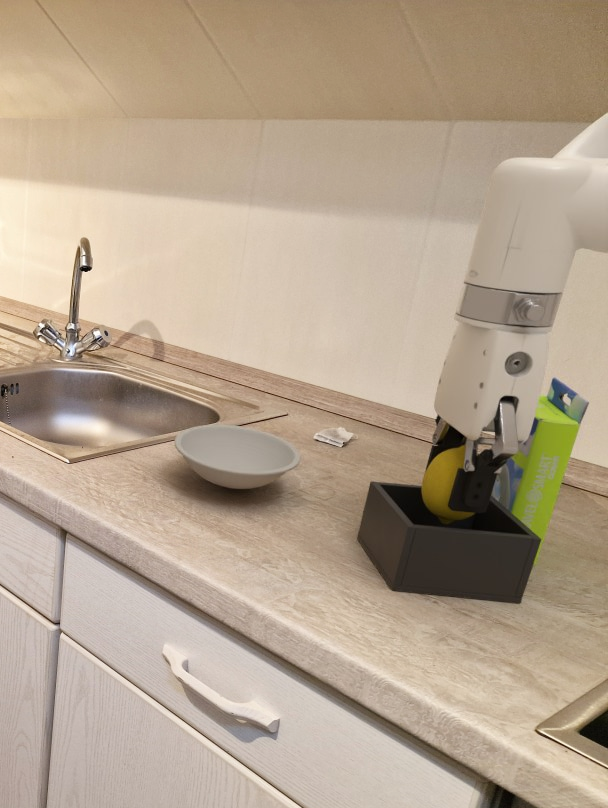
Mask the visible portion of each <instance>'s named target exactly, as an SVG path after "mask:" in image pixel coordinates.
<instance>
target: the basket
mask: <svg viewBox="0 0 608 808" xmlns="http://www.w3.org/2000/svg"><path fill="white" fill-rule="evenodd" d="M367 490H368V491H367V494H366V499H365V503H364V507H363V510H362V516H361V519H360V524H359V528H358V533H357V536H356V539H357V542H359V544H360V545H361V547H362V548H363V550H364V552H365V553H366V554H367V556H368V557H369V559H370V560H371V562H372V563H373V565H374V566H375V568H376V569H377V571H378V572H379V574H380V575H381V576H382V578H383V579H384V581H385V582H386V584H387V585H388V587H389V589H390V590H391V591H394V592H404V593H414V594H422V595H423V594H424V595H433V596H443V597H444V596H445V597H454V598H461V599H462V598H464V599H473V600H483V601H493V602H502V603H512V604H513V603H514V604H521V603H522V600H523V597H524V594H525V592H526V588H527V585H528V582H529V578H530V575H531V573H532V569H533V566H534V565H533V564H534V561H535V558H536V555H537V551H538V548H539V545H540V542H541V538H540V537H538V536H537V535H536V534H535V533H534V532H533V531H532V530H530V529H529V528H528V527H527V526H526V525H525V524H524V523H522V522H521V521H520V520H519V519H518V518H517V517H516V516H514V515H513V514H512V513H511V512H510V511H509V510H508V509H506V508H505V507H504V506H503V505H502V504H501V503H500V502H498V501H497V500H496V499H495V498H494V497H493V496H492V495H491V497H490V501H489V504H488V507H487V510H486V512H485V513H475V514H474V515H472V516H470V517H468V518H465V519H462V520H454V521H453V522H451V523H449V524H444V523H442V522H441V521H440V520H439V518H438V517H437V516H436V515H434V514H433V513H432V512H431V511H430V510H429V509H428V508H427V507H426V505H425V503H424V501H423V497H422V485H419V484H406V483H395V482H384V481H370V482H369V487H368V489H367Z"/></svg>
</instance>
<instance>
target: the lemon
mask: <svg viewBox="0 0 608 808" xmlns="http://www.w3.org/2000/svg"><path fill="white" fill-rule="evenodd" d="M465 449H466V445H463V446H461V447H459V448H452V449H449V450H446V451H444V452H442V453H440V454H439V455H437V456H436V457H435V458H434V459H433V461H432V462H431V463H430V465H429V467H428V468H427V470H426V469H425V470H426V472H425V471H424V474H425V475H424V474H423V477H422V482H421V486H422V497H423V501H424V503H425V505H426V507H427V508H428V509H429V510H430V511H431V512H432V513H433V514H434V515H436V516H437V517H438V518H439V520H440V521H441V522H442V523H444V524H449V523H451V522H453V521H454V520H462V519H465V518H468V517H470V516H472V515H474V514H475V513H471V512H460V511H452V510H451V509H450V508H449V507H448V502H449V499H450V495H451V492H452V488H453V484H454V481H455V477H456V474H457V470H458V468H463V469H464V458H465ZM479 454H480V453H478V452H477V456H478V455H479Z"/></svg>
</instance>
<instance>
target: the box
mask: <svg viewBox="0 0 608 808" xmlns="http://www.w3.org/2000/svg"><path fill="white" fill-rule="evenodd" d="M565 395H566V397H567V398H568V399H569V400H570V403H569V405H568V403H567V402H565V401H564V397H565ZM589 404H590V401H588V399H585V398H584V397H583V396H582V395H580V394H579V393H578V392H576V391H575V390H573V389H572V388H570V386H568V385H567V384H565V383H564V382H562V381H560V380H559V379H557V377H553V378H552V379H551V383H550V385H549V389H548V392H547V395H541V394H540V397H539V402H538V406H537V410H536V413H535V417H534V421H533V425H532V428H531V431H530V434H529V437H528V439H527V441H526V442H524V443H522V444H518V445H519V449H518V452H517V454H516V455H514V456H513V457H511V458H510V459H509V460H508V461H507V462H506V464H504V465H503V466H502V471H501V473H500V474H499V475H497V477H496V481H495V484H494V487H493V491H492V494H491V495H492V496H493V497H494V498H495V499H496V500H497V501H498V502H500V503H501V504H502V505H503V506H504V507H505V508H506V509H508V510H509V511H510V512H511V513H512V514H513V515H514V516H516V517H517V518H518V519H519V520H520V521H521V522H522V523H524V524H525V525H526V526H527V527H528V528H529V529H530V530H532V531H533V532H534V533H535V534H536V535H537V536H538V537H540V538H541V542H540V545H539V548H538V551H537V555H536V558H535V561H534V564H533V566H536V565H537V564H538V559H539V556H540V552H541V549H542V546H543V543H544V540H545V537H546V534H547V531H548V528H549V525H550V522H551V518H552V515H553V512H554V509H555V507H556V503H557V499H558V496H559V493H560V490H561V486H562V484H563V481H564V477H565V474H566V471H567V468H568V465H569V461H570V458H571V455H572V452H573V448H574V445H575V444H576V443H575V442H576V440H577V436H578V433H579V430H580V427H581V424H582V421H583V419H584V417H585V415H586V412H587V409H588V407H589Z"/></svg>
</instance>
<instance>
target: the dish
mask: <svg viewBox="0 0 608 808" xmlns="http://www.w3.org/2000/svg"><path fill="white" fill-rule="evenodd" d="M174 446H175V449H176V450H177V452H178V453H179V454H180V455H181V456H182V457H183V458H184V460H185V461H186V463H187V464H188V466H189V467H190V468H191V469H192V470H193V472H195V473H196V474H197V475H199V477H201V478H203V479H204V480H206V481H208V482H210V483H212V484H215V485H217V486H220V487H224V488H228V489H237V490H247V489H257V488H261V487H263V486H267V485H269V484H271V483H272V482H274V481H276V480H278V479H280V478H281V477H282V476H284V475H285V474H286V473H288V472H290V471H292V470H294V469H295V468H297V467H298V465H299V464H300V462H301V460H302V459H301V453H300V452H299V450H298V448H297V447H296V446H295V445H294V444H292V443H290V442H289V441H287V440H286V439H284V438H282V437H280V436H277V435H275V434H272V433H270V432H267V431H263V430H260V429H256V428H253V427H248V426H247V427H246V426H241V425H232V424H231V425H230V424H205V425H197V426H193V427H188V428H186V429H184V430H182V431H180V432H179V433H178V434H177V435H176V436H175V438H174Z"/></svg>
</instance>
